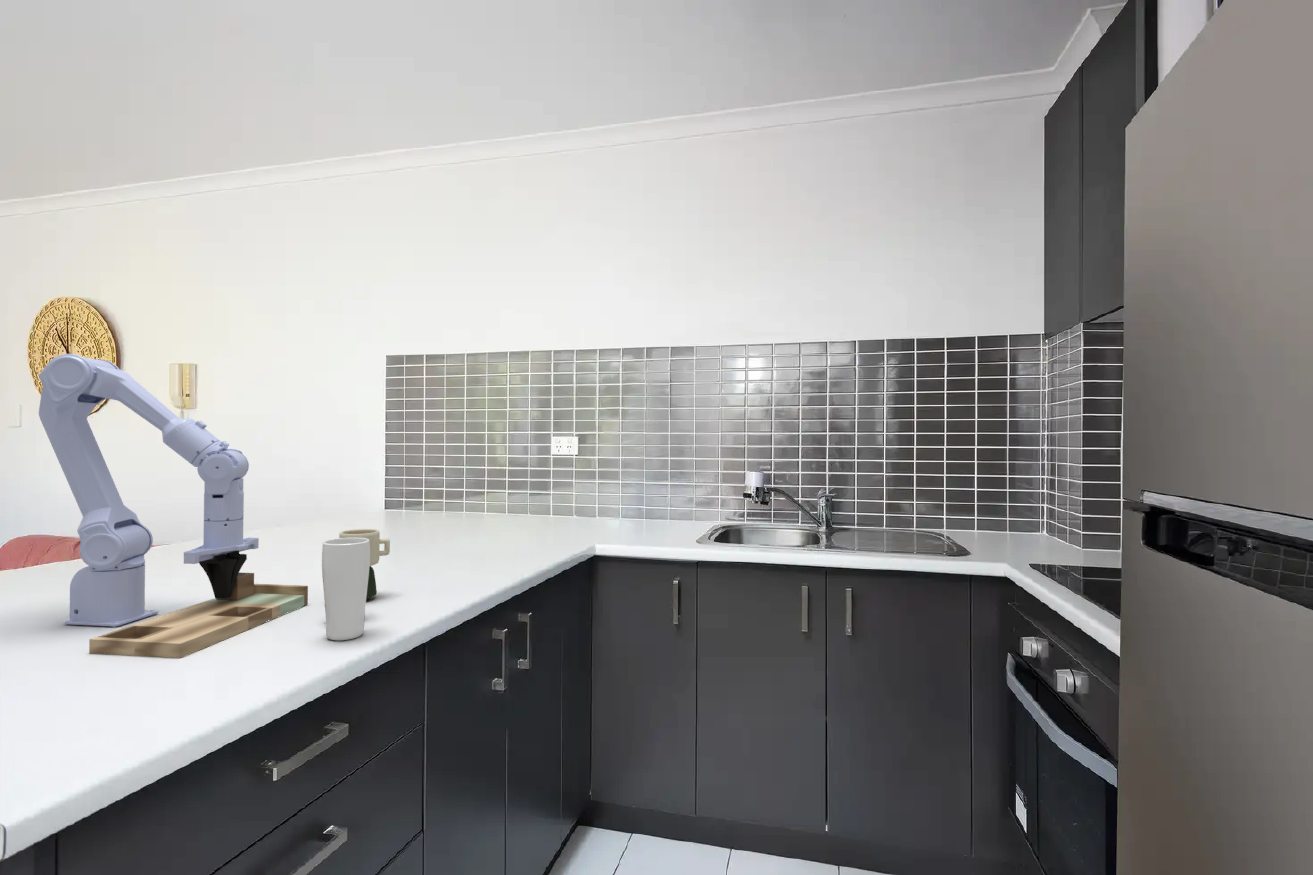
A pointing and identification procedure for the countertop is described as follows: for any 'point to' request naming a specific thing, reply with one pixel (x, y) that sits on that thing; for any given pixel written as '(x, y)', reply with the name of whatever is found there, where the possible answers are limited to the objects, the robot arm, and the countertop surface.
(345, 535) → the character mug
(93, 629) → the countertop surface
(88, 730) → the countertop surface
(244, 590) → the block
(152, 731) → the countertop surface
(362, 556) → the drinking glass
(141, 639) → the wooden board
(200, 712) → the countertop surface
